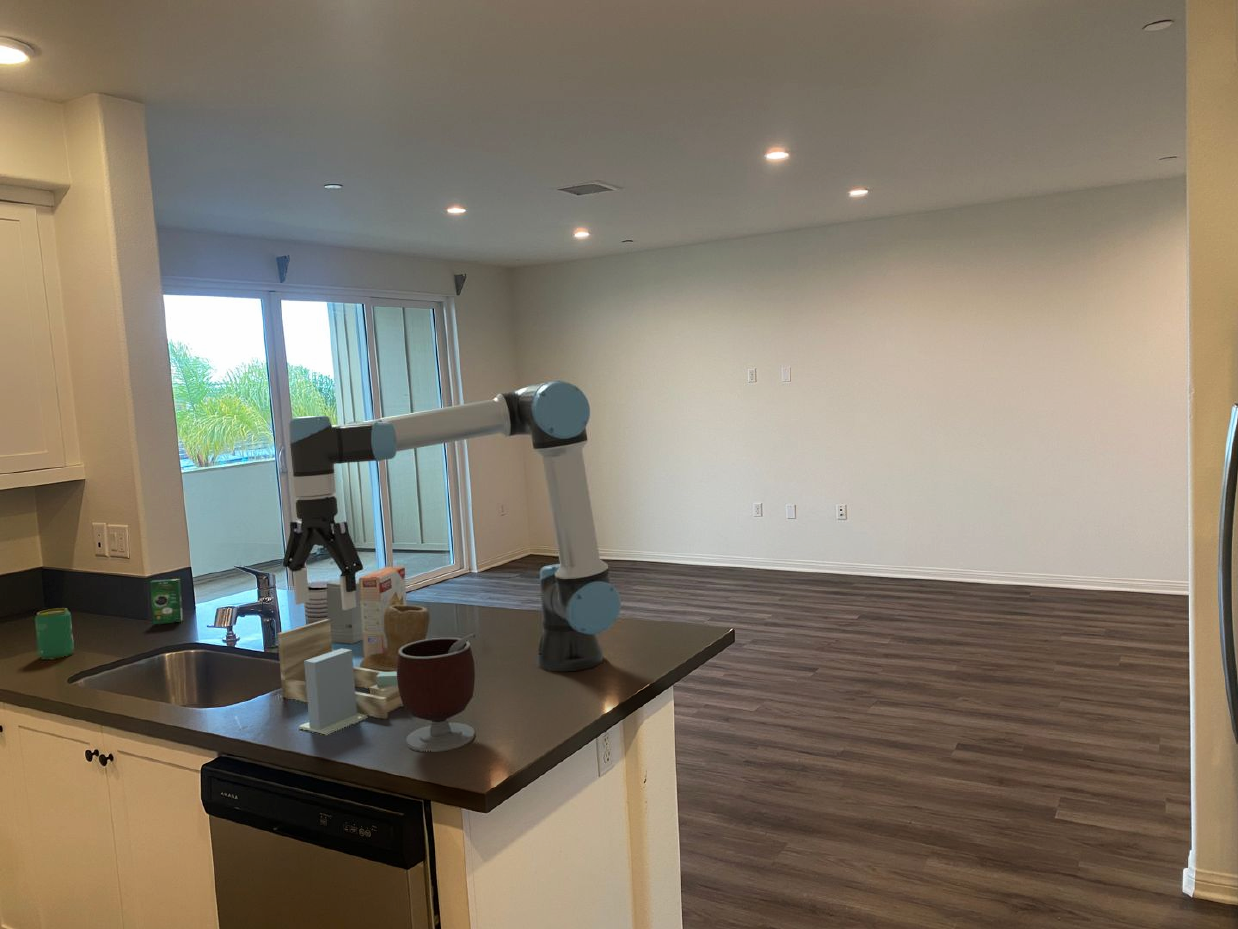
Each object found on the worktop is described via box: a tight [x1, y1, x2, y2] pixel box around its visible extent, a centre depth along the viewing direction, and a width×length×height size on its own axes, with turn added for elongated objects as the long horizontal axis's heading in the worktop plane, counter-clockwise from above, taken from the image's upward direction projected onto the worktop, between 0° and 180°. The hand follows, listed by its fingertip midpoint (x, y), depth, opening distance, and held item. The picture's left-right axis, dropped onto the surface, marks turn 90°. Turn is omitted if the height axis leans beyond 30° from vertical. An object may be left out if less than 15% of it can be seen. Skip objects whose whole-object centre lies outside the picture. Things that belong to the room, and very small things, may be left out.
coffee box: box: [149, 578, 184, 626], centre depth 269 cm, size 8×3×13 cm, turn 103°
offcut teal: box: [376, 671, 398, 686], centre depth 184 cm, size 3×5×2 cm, turn 90°
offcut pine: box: [369, 685, 400, 701], centre depth 184 cm, size 4×7×2 cm, turn 145°
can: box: [303, 580, 333, 625], centre depth 258 cm, size 11×11×12 cm
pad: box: [298, 713, 369, 736], centre depth 176 cm, size 8×10×1 cm
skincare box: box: [327, 579, 363, 645], centre depth 238 cm, size 8×7×16 cm
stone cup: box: [359, 604, 431, 672], centre depth 209 cm, size 15×12×15 cm
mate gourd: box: [397, 633, 476, 753], centre depth 164 cm, size 16×14×20 cm
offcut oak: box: [387, 696, 403, 712], centre depth 185 cm, size 5×9×2 cm, turn 150°
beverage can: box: [34, 607, 75, 659], centre depth 238 cm, size 8×8×12 cm
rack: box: [276, 619, 389, 719], centre depth 190 cm, size 31×13×14 cm, turn 58°
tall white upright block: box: [304, 648, 357, 729], centre depth 175 cm, size 3×9×13 cm, turn 148°
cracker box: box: [358, 566, 408, 660], centre depth 221 cm, size 14×6×21 cm, turn 168°
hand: (325, 605), depth 174 cm, fingers open, 13 cm apart
